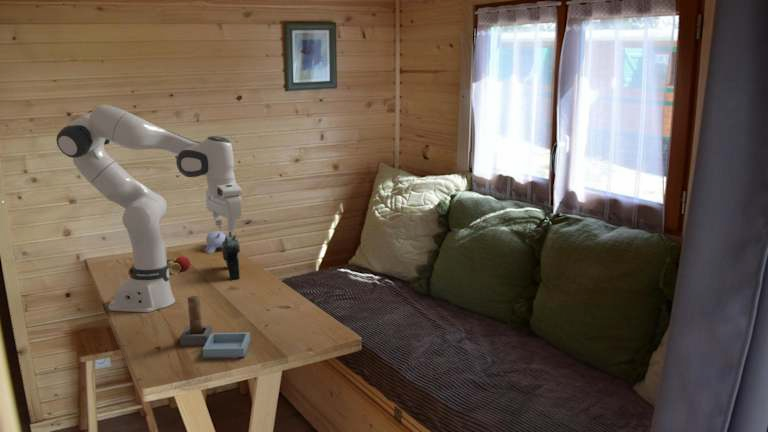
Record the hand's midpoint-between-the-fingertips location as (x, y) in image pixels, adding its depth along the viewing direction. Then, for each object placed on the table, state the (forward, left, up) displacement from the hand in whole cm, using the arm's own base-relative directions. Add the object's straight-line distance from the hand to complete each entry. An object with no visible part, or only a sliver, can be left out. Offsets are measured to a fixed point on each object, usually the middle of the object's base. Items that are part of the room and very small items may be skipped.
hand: (224, 228), depth 233 cm
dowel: (-7, -19, -31) cm, 37 cm away
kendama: (-34, +50, -32) cm, 68 cm away
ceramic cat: (-8, +47, -31) cm, 57 cm away
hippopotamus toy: (-21, +84, -32) cm, 92 cm away
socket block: (-7, -19, -31) cm, 37 cm away
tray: (+4, -27, -31) cm, 41 cm away
